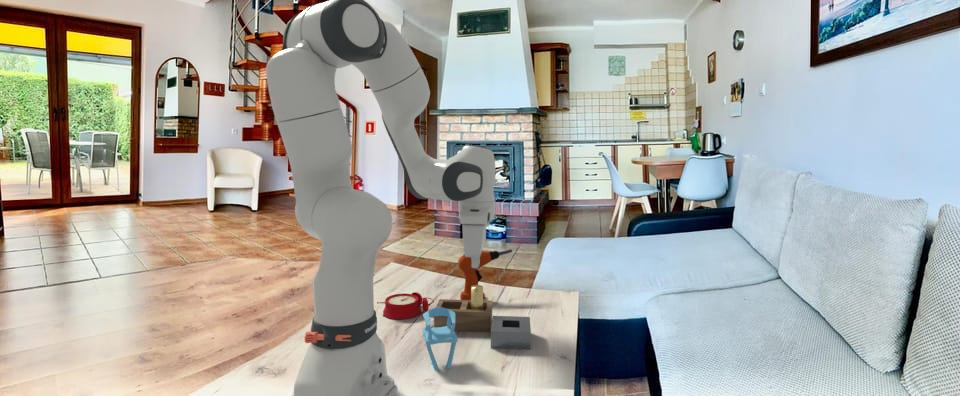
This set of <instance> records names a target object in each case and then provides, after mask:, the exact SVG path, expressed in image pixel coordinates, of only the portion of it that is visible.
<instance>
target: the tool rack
mask: <svg viewBox="0 0 960 396" xmlns="http://www.w3.org/2000/svg"><path fill="white" fill-rule="evenodd" d="M436 307H443V308H446V309H449V310H451V311H453V312H455V328H454V332H473V333H474V332H475V333H491V326H492V318H493V300H483V310H471V300H461V299H447V298H446V299H445V298H444V299H443V298H441V299H438V301H437V304H436V306H435V308H436ZM447 320H448V316H434V317H433V324H434V325H433V328H437V327H444V326H447ZM451 326H452V321H451Z"/></svg>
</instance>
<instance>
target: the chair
mask: <svg viewBox="0 0 960 396" xmlns="http://www.w3.org/2000/svg"><path fill="white" fill-rule="evenodd" d="M422 316H423V319H424V322H425V327H423V329H422V333H423V336H424V337H423V338H424V341H425V345H426V349H427V351H428V352H427V353H428V356H429V358H430V361H431V362H430V364H431V366H432V368H433V370H434V371H439V368H440V367H439V366H438V363H437V361H436V358H435V354H434V352H433V350H432V346H431V345H437V344H444V343H446V344H447V343H451V344H450V348H449V354H448V358H447V362H446V366H445V368H446V370H450V369H452V363H453V359H454V354H455V350H456V345H457V342H458V336H457V334H456V331H454V328H455V312H453V311H451V310H449V309H446V308H443V307H436V306H435V307H433V308H431V309H428V311H427V312H425V313H424V312H423V313H422ZM434 316H448V320H447V326H444V327H437V328H434V327H431V318H434ZM451 321H452V326H451Z"/></svg>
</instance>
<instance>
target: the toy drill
mask: <svg viewBox="0 0 960 396" xmlns="http://www.w3.org/2000/svg"><path fill="white" fill-rule="evenodd" d="M512 252H513V249H511V248H510V249H506V250H502V251H497V250H493V251H484V250H482V252H481V255H480V264H479V267H478V268H472V261H471V257H466V256H465V254H464V253H463V255H461V256H460V257H459V259H458V261H457V265H458V268H459V269H460V270H461V271H462V272H463V274H464V281H465V282H464V288H463V291H461V292H460V299H459V300H471V286H473V285H479V281H481V279H482V278H483V275H482V274H480V271H479V269H480V268H482V267H484V266H485V265H487V264H489V263H491V262H492V261H494V260H496V259H498V258H499V257H500V256H504V255H507V254H510V253H512ZM485 298H486V293H485V292H484V291H483V300H484V299H485Z"/></svg>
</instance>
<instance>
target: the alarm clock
mask: <svg viewBox="0 0 960 396" xmlns="http://www.w3.org/2000/svg"><path fill="white" fill-rule="evenodd" d="M428 299H429V300H431V301H432V302H429V300H428ZM434 302H435V301H434V299H433V298H431V297H423V296H422V295H421V293H419V292H418V291H417V292H416V291H415V292H412V293H396V294H392V295H389V296H387V297H386V298H385V299H384V301H383V302H382V301H380V302H379V301H377V302H376V304H378V305H379V304H384V308H383V310H382V313H383V314H382V317H383V318H384V317H385V318H388V319H393V320H407V319H412V318H415V317H417V316H419V315H420V314H421V312H422V311H423V314H424V313H425V312H427V311H429V306H431V304H434ZM421 305H422V309H421Z"/></svg>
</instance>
